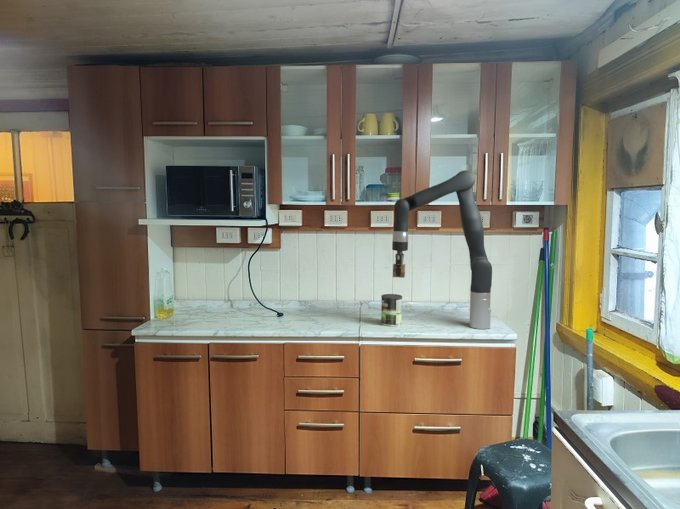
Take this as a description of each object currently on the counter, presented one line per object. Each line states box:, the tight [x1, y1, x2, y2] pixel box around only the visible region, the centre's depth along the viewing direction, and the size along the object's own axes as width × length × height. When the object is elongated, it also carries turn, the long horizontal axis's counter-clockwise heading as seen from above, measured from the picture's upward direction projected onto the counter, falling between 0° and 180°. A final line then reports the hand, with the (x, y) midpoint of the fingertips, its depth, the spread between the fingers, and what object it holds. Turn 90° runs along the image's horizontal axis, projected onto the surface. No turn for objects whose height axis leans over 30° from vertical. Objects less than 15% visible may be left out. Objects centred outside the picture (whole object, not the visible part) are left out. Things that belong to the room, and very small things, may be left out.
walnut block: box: [392, 263, 406, 279], centre depth 207 cm, size 6×6×6 cm
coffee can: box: [380, 293, 403, 327], centre depth 209 cm, size 10×10×14 cm
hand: (398, 274), depth 207 cm, fingers closed on walnut block, 5 cm apart
